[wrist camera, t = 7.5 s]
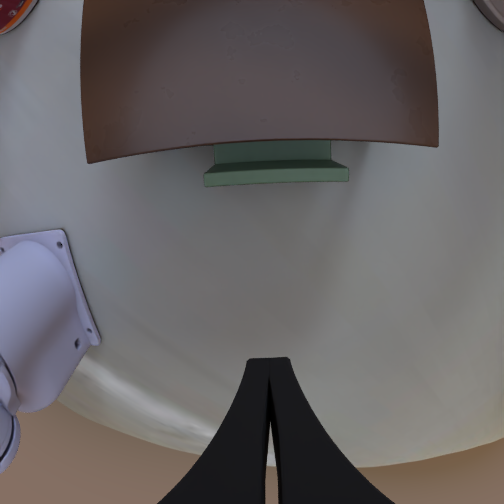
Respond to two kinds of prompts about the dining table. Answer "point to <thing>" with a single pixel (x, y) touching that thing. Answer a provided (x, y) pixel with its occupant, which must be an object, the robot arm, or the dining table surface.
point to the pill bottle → (13, 13)
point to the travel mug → (493, 11)
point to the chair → (274, 163)
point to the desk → (254, 73)
